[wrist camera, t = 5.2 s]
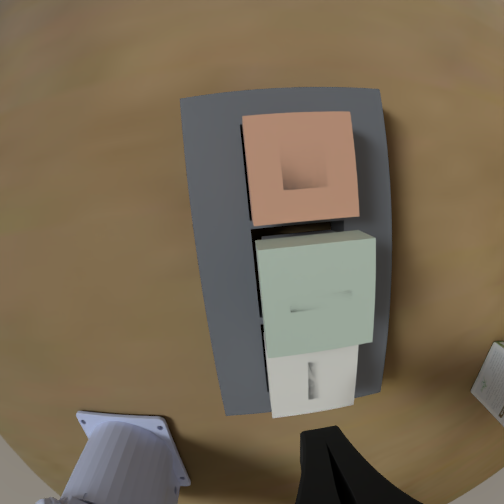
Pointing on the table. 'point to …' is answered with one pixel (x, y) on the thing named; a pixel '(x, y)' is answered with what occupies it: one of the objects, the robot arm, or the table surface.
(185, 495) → the table surface
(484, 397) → the syrup box
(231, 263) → the keypad plate
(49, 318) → the table surface
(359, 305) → the sage key
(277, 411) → the ivory key
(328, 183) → the terracotta key
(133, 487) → the robot arm
